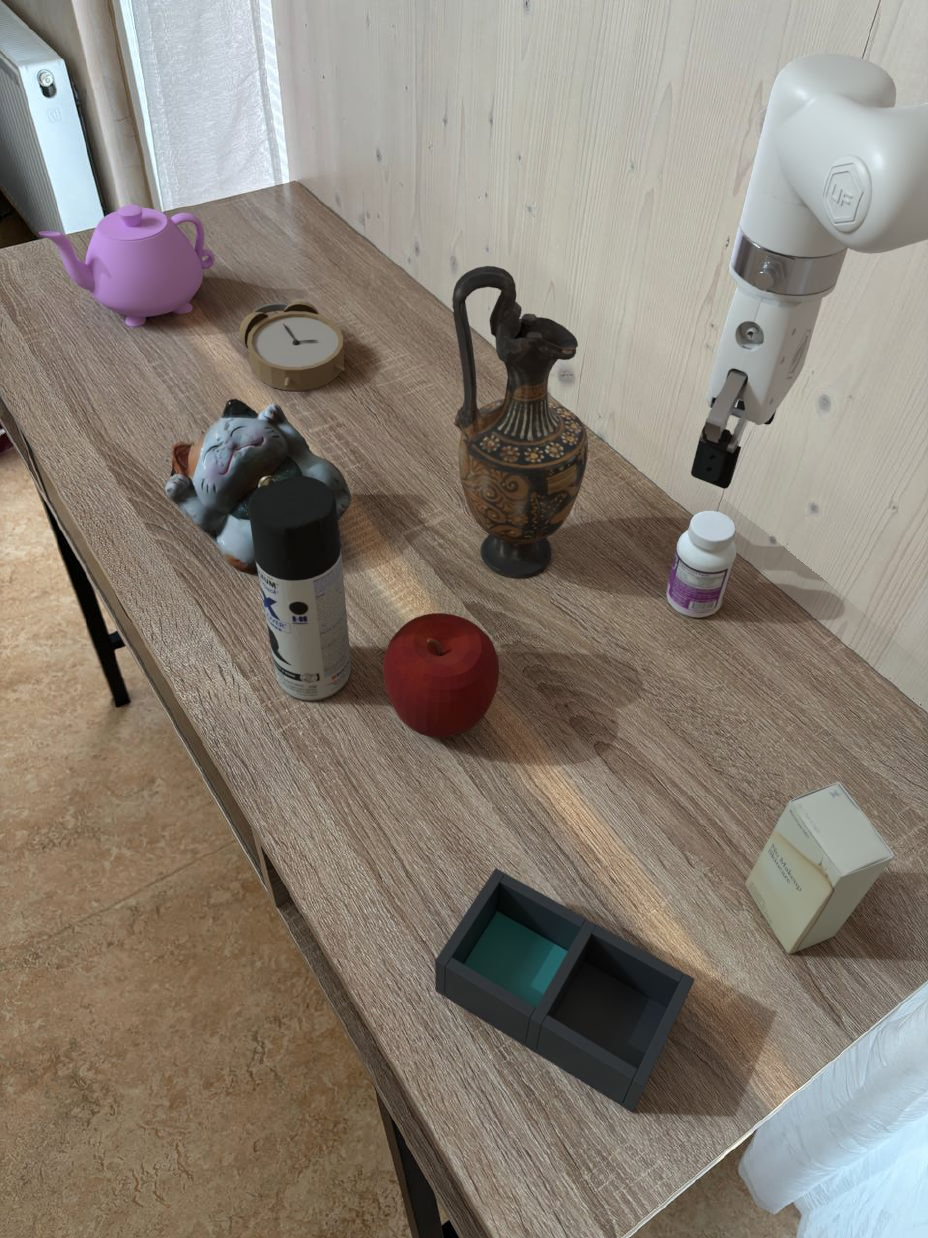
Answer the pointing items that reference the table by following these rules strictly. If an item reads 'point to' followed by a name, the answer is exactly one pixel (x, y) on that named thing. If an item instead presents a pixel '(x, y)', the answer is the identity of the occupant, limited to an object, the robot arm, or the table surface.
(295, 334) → the alarm clock
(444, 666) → the apple
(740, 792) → the table surface
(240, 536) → the lucky cat figurine
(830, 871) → the cosmetic box
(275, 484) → the spray can
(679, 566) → the pill bottle
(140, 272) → the teapot
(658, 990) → the holder
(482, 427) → the vase
